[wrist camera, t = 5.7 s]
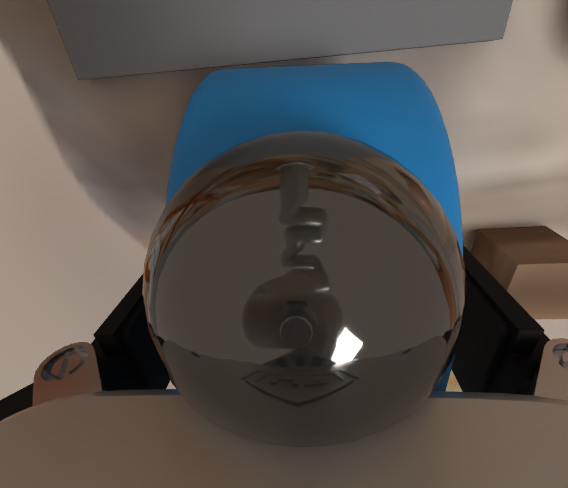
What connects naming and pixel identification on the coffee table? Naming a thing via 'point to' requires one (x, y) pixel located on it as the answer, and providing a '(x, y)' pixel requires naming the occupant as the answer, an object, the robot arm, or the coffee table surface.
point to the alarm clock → (308, 252)
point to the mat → (258, 30)
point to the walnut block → (528, 267)
